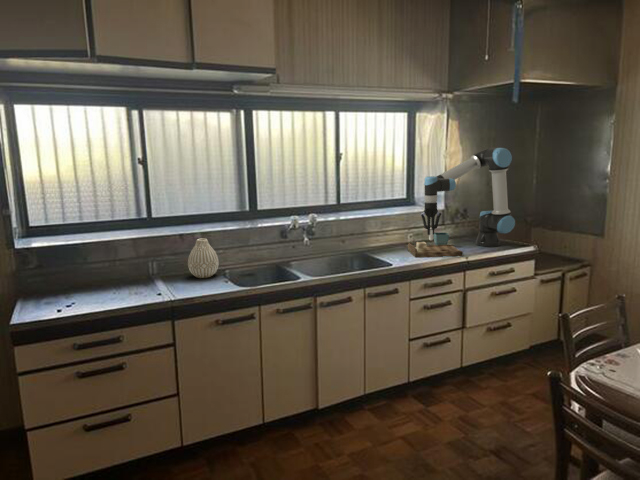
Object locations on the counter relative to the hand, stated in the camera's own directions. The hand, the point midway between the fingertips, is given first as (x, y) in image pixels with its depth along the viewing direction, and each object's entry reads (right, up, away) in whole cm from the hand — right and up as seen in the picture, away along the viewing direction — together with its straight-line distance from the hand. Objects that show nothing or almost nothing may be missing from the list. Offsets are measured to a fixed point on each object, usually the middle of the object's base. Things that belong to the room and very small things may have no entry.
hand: (430, 239), depth 301 cm
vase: (-130, -20, -42) cm, 138 cm away
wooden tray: (+3, -8, +4) cm, 10 cm away
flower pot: (+12, -5, +23) cm, 26 cm away
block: (-6, -7, 0) cm, 9 cm away
